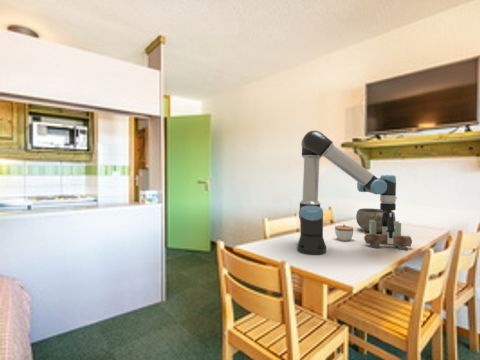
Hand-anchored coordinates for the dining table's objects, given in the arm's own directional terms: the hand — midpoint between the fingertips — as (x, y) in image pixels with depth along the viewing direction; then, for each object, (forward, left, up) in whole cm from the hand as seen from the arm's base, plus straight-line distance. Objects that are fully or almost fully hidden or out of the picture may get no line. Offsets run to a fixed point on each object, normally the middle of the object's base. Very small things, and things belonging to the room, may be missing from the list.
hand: (387, 240), depth 148 cm
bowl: (0, +39, -4) cm, 39 cm away
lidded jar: (-22, +10, -4) cm, 24 cm away
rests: (0, 0, -4) cm, 4 cm away
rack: (+1, +13, -4) cm, 14 cm away
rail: (0, 0, -2) cm, 2 cm away
